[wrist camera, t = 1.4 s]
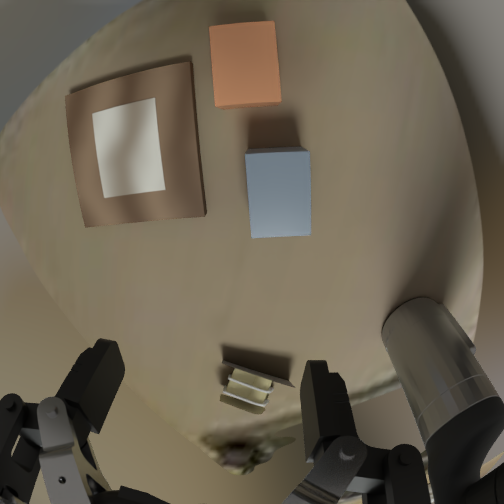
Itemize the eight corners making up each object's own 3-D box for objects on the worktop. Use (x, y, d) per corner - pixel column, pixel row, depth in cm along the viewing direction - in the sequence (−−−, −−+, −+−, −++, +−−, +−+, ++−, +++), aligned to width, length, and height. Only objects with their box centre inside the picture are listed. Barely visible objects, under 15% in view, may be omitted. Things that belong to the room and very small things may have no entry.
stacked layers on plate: (224, 355, 43) (212, 386, 42) (221, 362, 34) (207, 400, 33) (284, 376, 43) (272, 406, 41) (295, 387, 34) (280, 424, 33)
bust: (416, 490, 80) (421, 508, 70) (416, 488, 78) (420, 507, 67) (439, 480, 77) (444, 497, 67) (439, 477, 75) (445, 495, 65)
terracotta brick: (271, 37, 21) (274, 20, 17) (277, 105, 24) (281, 101, 20) (218, 42, 21) (209, 26, 17) (223, 109, 24) (215, 106, 20)
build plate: (192, 63, 22) (189, 61, 21) (206, 212, 29) (204, 216, 27) (71, 96, 23) (64, 96, 22) (90, 223, 29) (85, 227, 28)
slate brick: (301, 146, 26) (309, 151, 21) (303, 216, 29) (310, 235, 24) (247, 148, 26) (244, 154, 21) (253, 219, 29) (251, 238, 24)
